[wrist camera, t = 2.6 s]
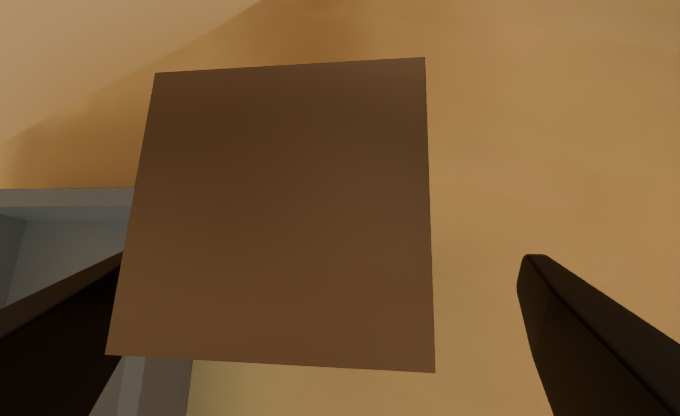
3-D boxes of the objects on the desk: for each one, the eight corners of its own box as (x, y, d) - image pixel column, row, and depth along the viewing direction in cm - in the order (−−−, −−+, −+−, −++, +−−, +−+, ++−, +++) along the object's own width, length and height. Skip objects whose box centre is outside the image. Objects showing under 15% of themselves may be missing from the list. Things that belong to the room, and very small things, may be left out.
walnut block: (403, 323, 16) (435, 373, 4) (302, 319, 17) (104, 354, 5) (401, 223, 17) (425, 56, 6) (307, 223, 18) (155, 73, 6)
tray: (163, 596, 15) (95, 684, 11) (-57, 563, 16) (-177, 633, 13) (211, 208, 19) (171, 187, 15) (31, 209, 20) (-41, 189, 17)
